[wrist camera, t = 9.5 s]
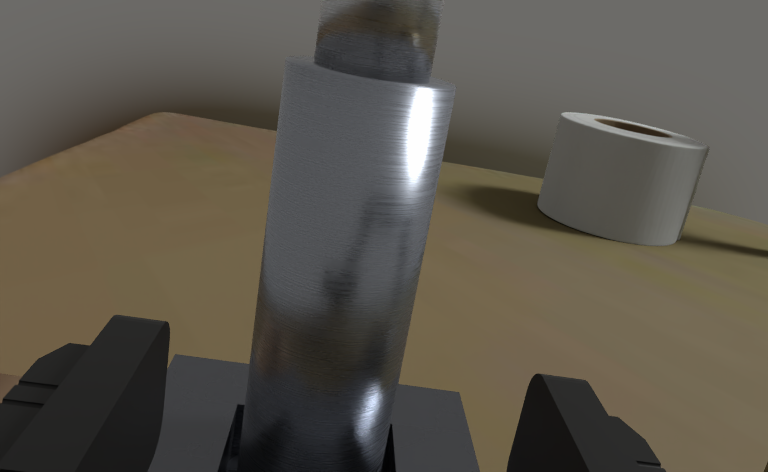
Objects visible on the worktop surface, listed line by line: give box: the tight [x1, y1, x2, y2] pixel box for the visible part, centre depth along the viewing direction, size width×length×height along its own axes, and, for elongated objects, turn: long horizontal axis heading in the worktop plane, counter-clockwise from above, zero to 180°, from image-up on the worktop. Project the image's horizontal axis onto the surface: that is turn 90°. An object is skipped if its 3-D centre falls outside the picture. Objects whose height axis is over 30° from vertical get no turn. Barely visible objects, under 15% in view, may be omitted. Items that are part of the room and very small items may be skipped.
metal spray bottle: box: [237, 0, 456, 472], centre depth 20 cm, size 4×4×18 cm
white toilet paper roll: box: [537, 112, 709, 246], centre depth 77 cm, size 16×15×11 cm
